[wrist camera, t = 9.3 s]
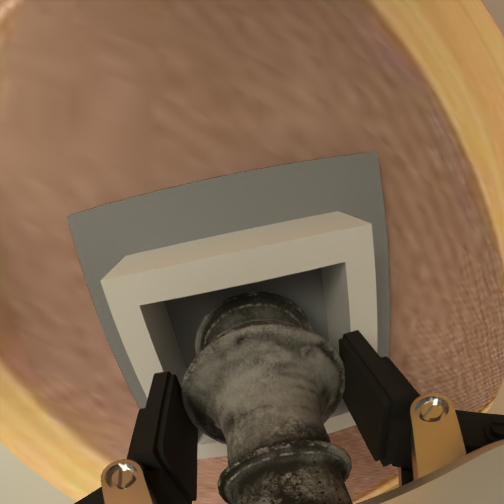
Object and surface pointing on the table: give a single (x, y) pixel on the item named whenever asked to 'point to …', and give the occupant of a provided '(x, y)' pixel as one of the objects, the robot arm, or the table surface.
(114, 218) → the socket
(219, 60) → the table surface
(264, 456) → the grey turned piece
